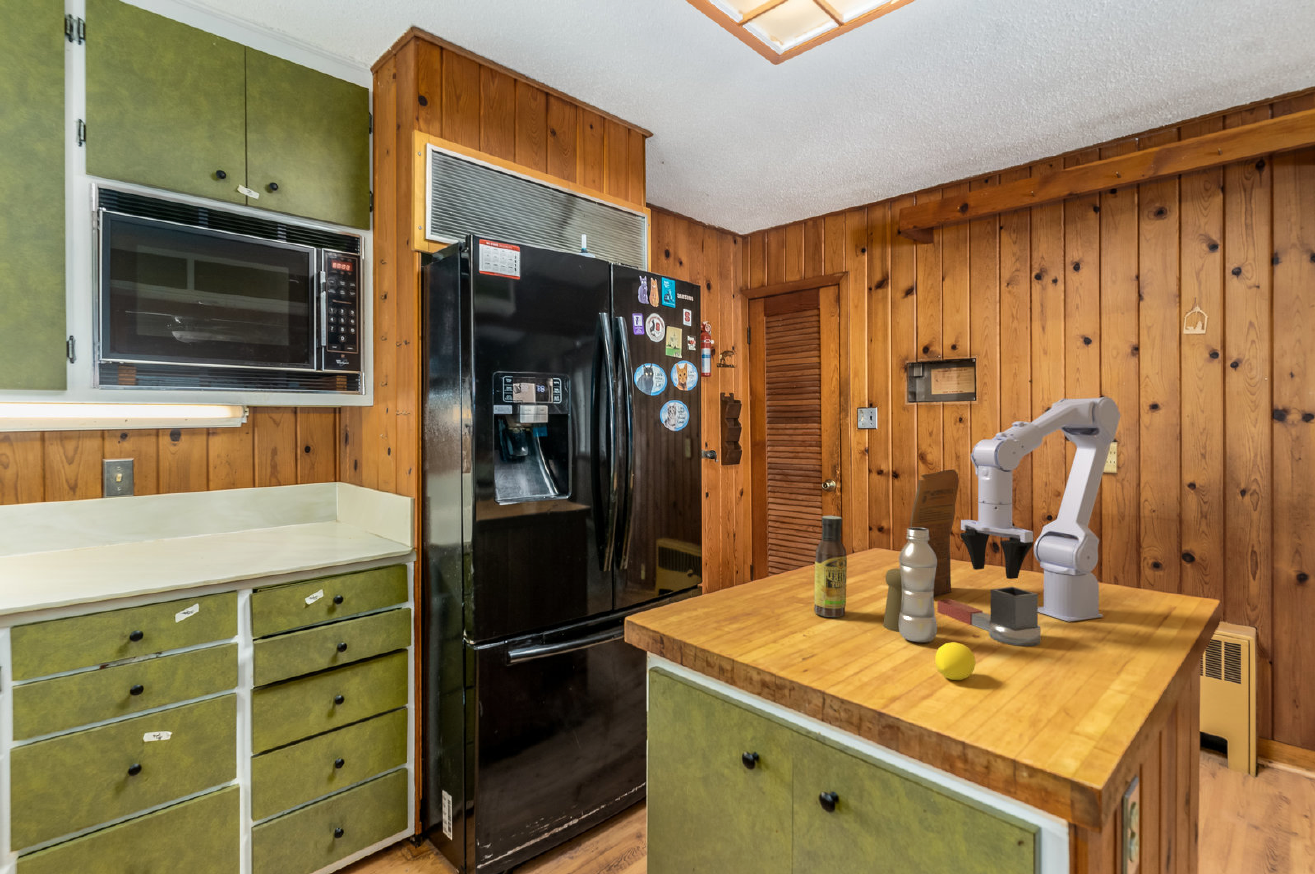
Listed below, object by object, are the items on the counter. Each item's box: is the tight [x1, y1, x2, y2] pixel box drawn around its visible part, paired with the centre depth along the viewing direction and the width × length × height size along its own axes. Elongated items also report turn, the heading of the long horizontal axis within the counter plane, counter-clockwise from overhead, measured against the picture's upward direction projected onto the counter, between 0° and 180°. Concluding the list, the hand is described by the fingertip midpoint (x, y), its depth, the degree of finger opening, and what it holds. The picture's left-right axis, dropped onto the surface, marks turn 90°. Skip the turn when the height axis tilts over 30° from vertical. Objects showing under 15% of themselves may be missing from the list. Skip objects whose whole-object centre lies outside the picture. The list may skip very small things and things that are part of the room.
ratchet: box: [937, 598, 1042, 647], centre depth 118 cm, size 8×21×6 cm, turn 18°
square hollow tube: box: [990, 586, 1039, 631], centre depth 111 cm, size 5×5×6 cm
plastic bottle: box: [898, 527, 938, 643], centre depth 111 cm, size 6×7×20 cm
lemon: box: [934, 641, 977, 681], centre depth 95 cm, size 7×5×5 cm
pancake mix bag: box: [909, 469, 959, 598], centre depth 140 cm, size 7×19×28 cm, turn 124°
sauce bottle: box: [813, 515, 848, 618], centre depth 126 cm, size 6×6×20 cm
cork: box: [882, 568, 902, 633], centre depth 118 cm, size 6×6×11 cm
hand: (994, 573), depth 118 cm, fingers open, 7 cm apart
